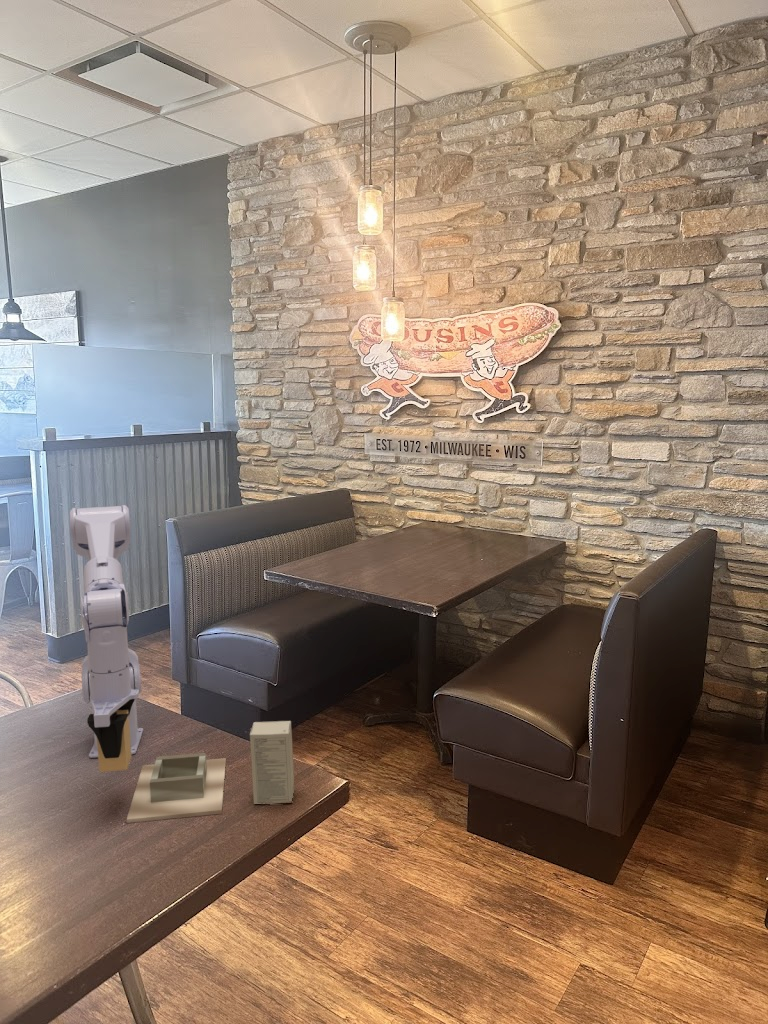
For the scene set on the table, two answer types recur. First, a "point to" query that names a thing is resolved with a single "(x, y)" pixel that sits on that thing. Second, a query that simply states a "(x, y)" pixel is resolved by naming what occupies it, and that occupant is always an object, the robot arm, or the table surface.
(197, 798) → the socket stand
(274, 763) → the skincare box
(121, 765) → the peg
